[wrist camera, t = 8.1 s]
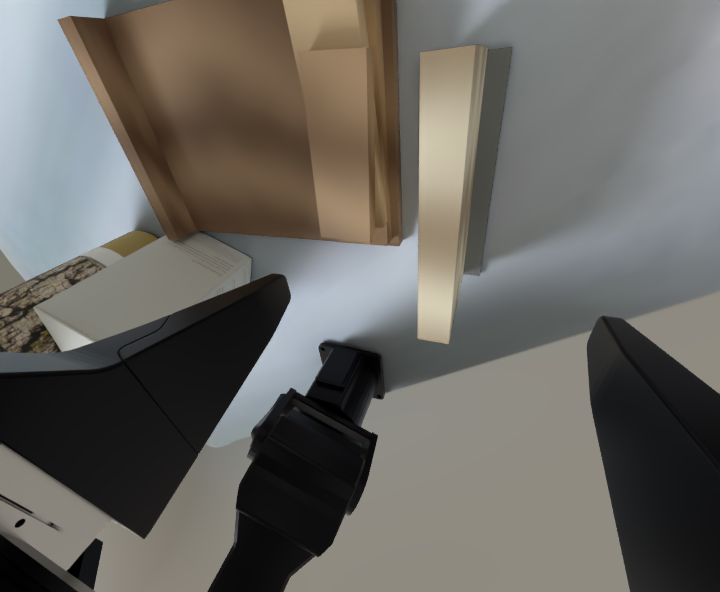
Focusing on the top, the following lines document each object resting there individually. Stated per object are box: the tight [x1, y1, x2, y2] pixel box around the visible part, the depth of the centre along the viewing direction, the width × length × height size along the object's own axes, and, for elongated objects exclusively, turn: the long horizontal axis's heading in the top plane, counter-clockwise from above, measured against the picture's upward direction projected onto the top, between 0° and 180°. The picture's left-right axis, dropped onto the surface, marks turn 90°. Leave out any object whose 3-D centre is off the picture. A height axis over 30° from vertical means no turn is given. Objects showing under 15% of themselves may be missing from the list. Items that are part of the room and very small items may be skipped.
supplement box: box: [33, 231, 252, 352], centre depth 26 cm, size 7×7×13 cm
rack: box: [58, 0, 402, 246], centre depth 20 cm, size 14×19×3 cm
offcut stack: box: [283, 0, 392, 246], centre depth 17 cm, size 13×4×3 cm, turn 7°
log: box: [0, 231, 158, 353], centre depth 24 cm, size 7×7×25 cm
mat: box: [463, 47, 512, 276], centre depth 18 cm, size 12×4×1 cm, turn 7°
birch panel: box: [418, 45, 488, 344], centre depth 15 cm, size 12×2×7 cm, turn 7°
